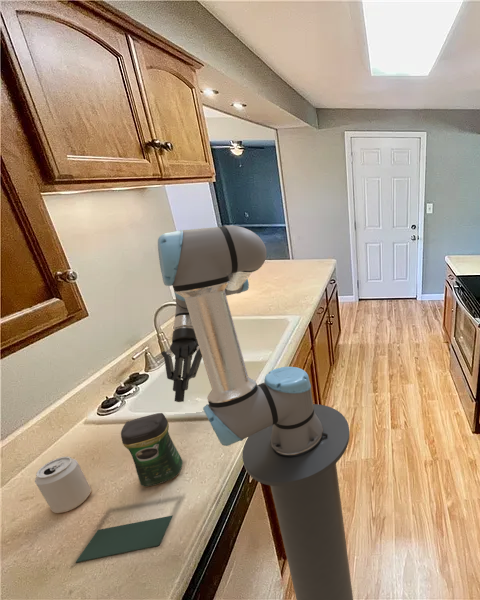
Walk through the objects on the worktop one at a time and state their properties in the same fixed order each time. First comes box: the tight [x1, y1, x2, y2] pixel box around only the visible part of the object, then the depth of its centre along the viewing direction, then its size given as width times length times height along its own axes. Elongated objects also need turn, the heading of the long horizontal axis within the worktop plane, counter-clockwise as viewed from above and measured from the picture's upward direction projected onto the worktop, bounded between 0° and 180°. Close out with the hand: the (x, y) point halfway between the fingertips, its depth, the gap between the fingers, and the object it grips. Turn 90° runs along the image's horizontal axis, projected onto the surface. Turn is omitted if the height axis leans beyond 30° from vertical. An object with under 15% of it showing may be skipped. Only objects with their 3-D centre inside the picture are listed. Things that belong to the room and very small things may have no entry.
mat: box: [75, 514, 174, 564], centre depth 77 cm, size 16×12×1 cm
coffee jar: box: [120, 412, 183, 488], centre depth 87 cm, size 10×8×19 cm
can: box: [34, 455, 92, 514], centre depth 81 cm, size 8×8×12 cm
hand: (179, 401), depth 103 cm, fingers closed
